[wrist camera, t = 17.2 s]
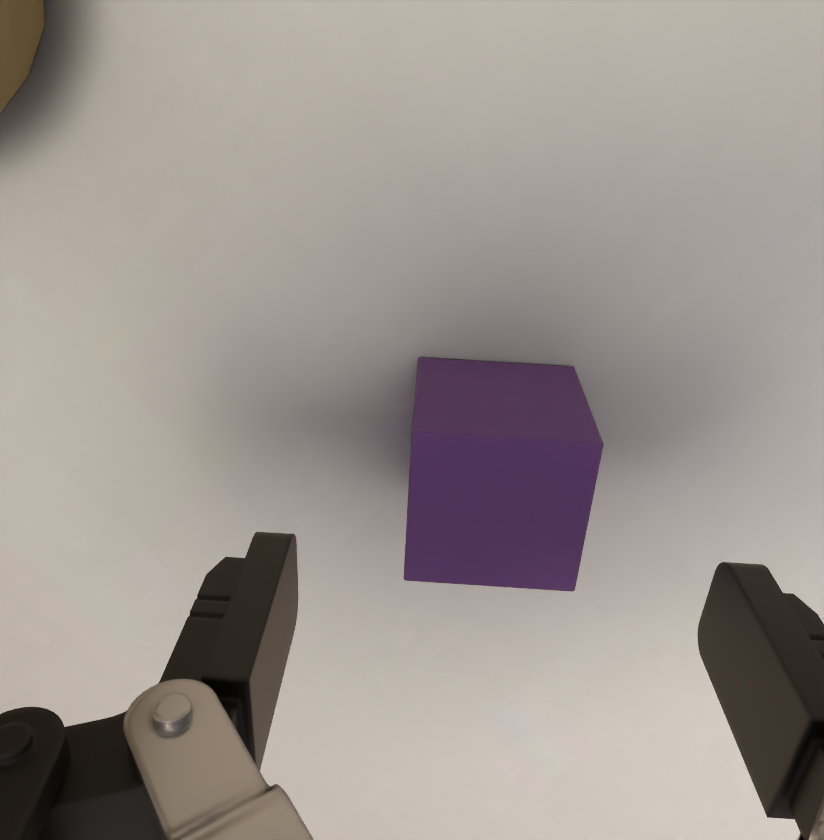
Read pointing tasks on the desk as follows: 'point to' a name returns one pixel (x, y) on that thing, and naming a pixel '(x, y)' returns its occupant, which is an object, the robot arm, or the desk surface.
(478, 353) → the desk surface
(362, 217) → the desk surface
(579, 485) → the purple matte cube
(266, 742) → the robot arm
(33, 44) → the squeeze bottle
